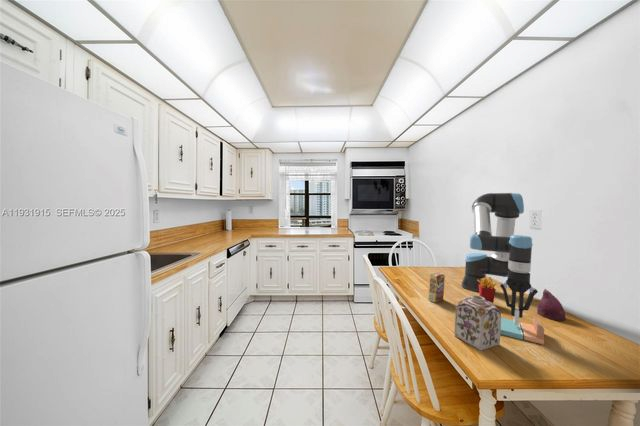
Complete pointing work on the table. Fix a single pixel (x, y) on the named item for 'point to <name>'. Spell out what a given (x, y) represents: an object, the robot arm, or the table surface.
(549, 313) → the vegetable
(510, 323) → the ticket
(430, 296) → the candy box
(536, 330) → the stub
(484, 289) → the french fries
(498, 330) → the decorative jar
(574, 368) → the table surface
